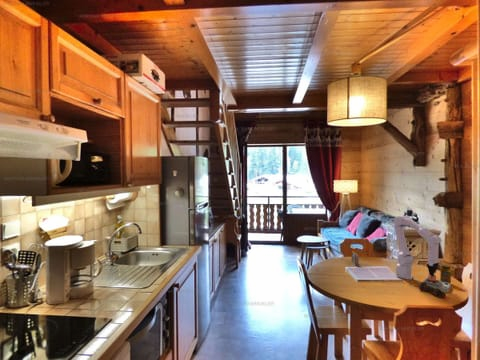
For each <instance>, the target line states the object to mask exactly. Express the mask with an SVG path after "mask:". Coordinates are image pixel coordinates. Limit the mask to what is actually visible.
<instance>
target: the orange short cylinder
mask: <svg viewBox="0 0 480 360" xmlns="http://www.w3.org/2000/svg"><path fill="white" fill-rule="evenodd" d="M427 278H428V282H431V283H436V280H437V275H435V274H434V276H430V275H429V274H428V275H427Z"/></svg>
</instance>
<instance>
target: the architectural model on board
mask: <svg viewBox="0 0 480 360" xmlns="http://www.w3.org/2000/svg"><path fill="white" fill-rule="evenodd" d="M351 262H352V263H353V264H354V266H359V255H358V254H357V253H356V252H355V251H353V249H352V250H351Z"/></svg>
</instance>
